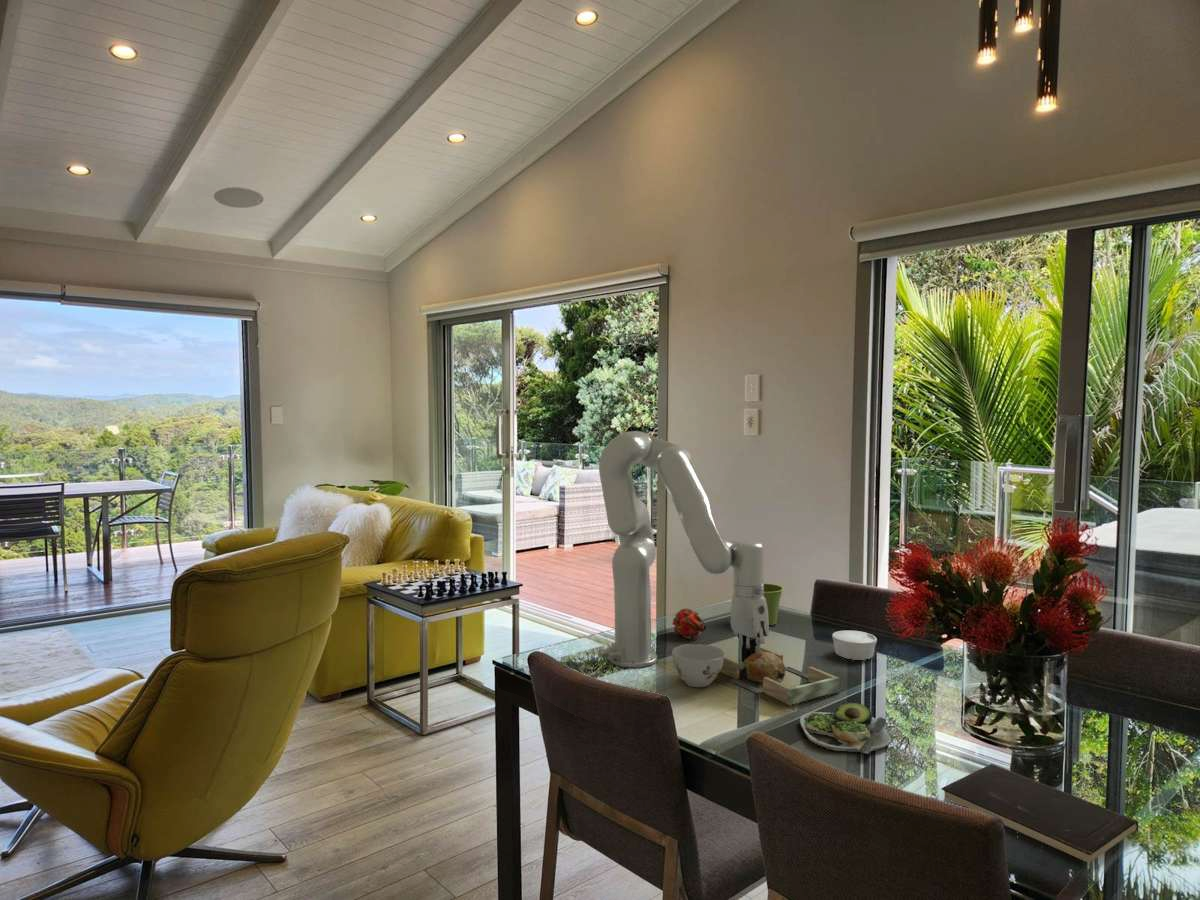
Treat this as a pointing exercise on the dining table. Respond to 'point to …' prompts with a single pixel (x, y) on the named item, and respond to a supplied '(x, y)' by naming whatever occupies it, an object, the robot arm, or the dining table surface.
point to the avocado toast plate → (848, 727)
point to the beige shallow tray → (817, 687)
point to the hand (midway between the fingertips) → (748, 661)
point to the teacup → (698, 663)
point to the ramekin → (854, 644)
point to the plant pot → (772, 600)
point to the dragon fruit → (688, 623)
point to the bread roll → (763, 667)
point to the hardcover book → (1042, 811)
